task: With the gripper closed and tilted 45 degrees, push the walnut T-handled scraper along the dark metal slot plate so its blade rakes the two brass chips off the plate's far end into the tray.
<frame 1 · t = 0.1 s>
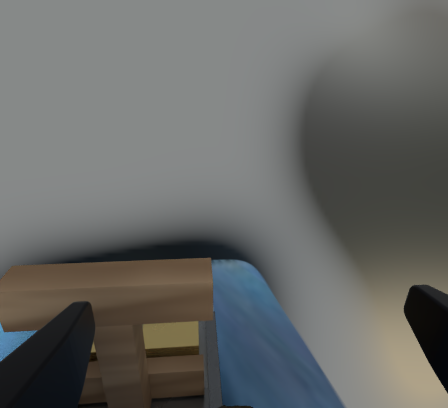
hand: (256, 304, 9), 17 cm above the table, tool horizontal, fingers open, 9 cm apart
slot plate: (143, 397, 24), on the table
scraper: (125, 344, 18), point 8 cm above the table, slide at 0.0 cm
chip a: (173, 353, 25), point 2 cm above the table, touching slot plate
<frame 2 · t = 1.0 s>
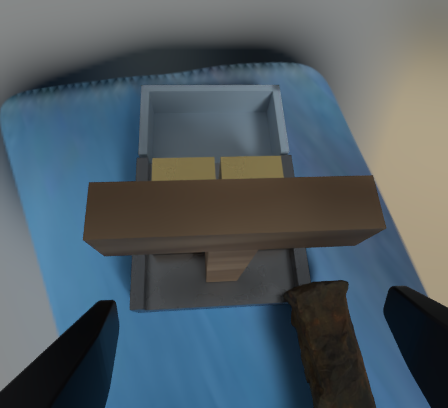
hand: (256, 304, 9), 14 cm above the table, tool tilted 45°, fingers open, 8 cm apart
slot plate: (217, 236, 24), on the table
chip b: (186, 203, 23), point 2 cm above the table, touching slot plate
scraper: (225, 233, 16), point 8 cm above the table, slide at 0.0 cm
tray: (212, 139, 27), on the table
chip a: (247, 201, 23), point 2 cm above the table, touching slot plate
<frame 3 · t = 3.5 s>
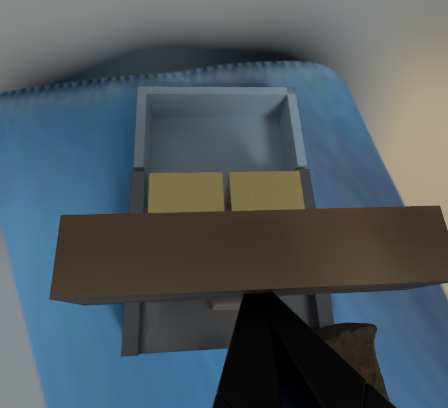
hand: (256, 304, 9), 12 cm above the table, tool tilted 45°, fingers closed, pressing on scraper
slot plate: (223, 260, 21), on the table
chip b: (188, 223, 20), point 2 cm above the table, touching scraper, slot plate
scraper: (237, 263, 13), point 8 cm above the table, slide at 0.5 cm, touching chip a, chip b, gripper
tray: (217, 147, 24), on the table
chip a: (258, 221, 20), point 2 cm above the table, touching scraper, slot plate
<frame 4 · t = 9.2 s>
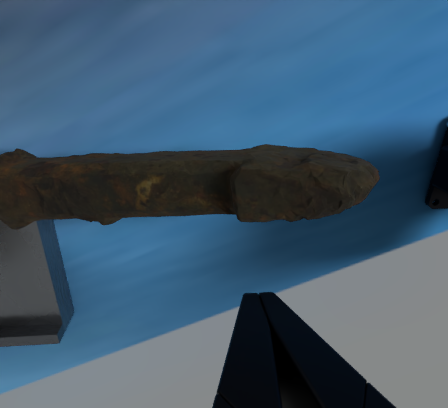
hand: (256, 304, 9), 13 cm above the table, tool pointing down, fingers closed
hand tool: (182, 159, 18), point 3 cm above the table, touching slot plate
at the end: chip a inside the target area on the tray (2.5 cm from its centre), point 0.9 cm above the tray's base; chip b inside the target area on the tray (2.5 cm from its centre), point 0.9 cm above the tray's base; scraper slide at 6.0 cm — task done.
